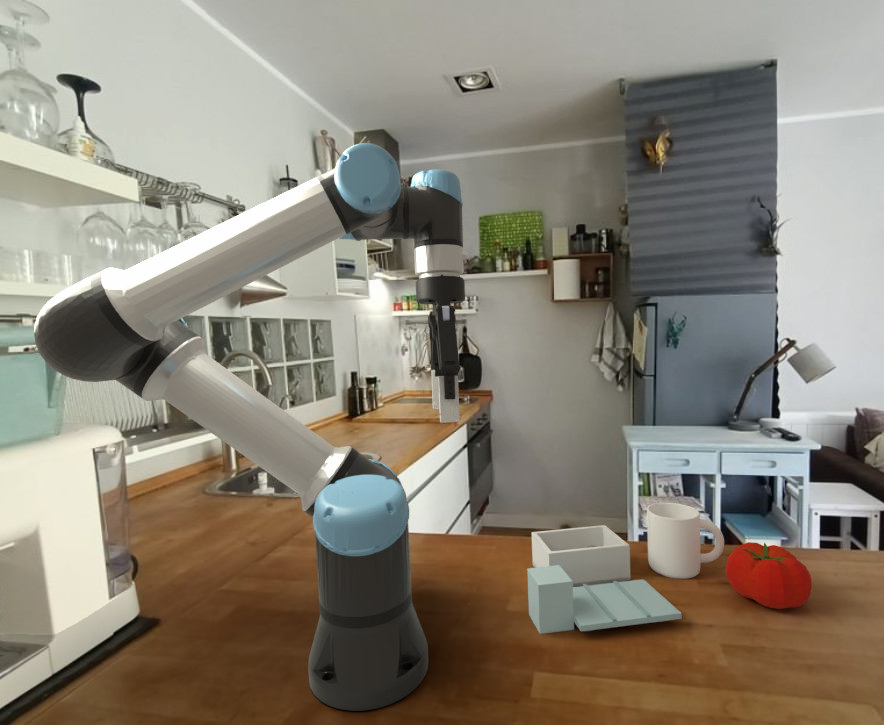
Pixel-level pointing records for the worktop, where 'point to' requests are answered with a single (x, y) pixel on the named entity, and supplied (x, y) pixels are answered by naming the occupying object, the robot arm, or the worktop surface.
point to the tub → (583, 554)
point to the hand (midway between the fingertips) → (445, 414)
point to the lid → (592, 603)
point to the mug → (678, 540)
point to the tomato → (768, 575)
